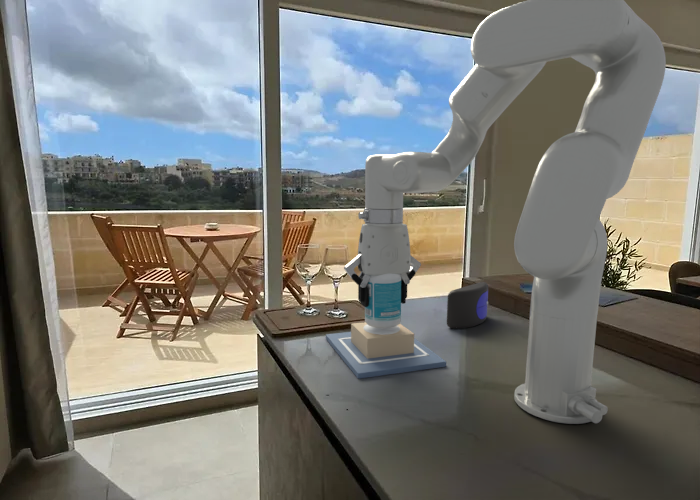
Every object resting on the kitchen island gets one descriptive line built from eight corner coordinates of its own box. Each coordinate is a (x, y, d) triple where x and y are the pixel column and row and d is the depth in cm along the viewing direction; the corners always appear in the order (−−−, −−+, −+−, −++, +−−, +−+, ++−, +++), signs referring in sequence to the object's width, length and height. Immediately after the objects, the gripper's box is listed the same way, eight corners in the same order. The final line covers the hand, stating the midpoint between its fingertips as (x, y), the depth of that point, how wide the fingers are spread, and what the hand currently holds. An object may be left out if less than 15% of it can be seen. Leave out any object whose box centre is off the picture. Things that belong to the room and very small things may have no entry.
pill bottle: (406, 322, 98) (408, 258, 96) (390, 331, 92) (391, 263, 90) (375, 316, 102) (376, 255, 100) (357, 325, 96) (358, 260, 94)
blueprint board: (446, 366, 91) (447, 341, 90) (358, 378, 85) (358, 351, 84) (399, 330, 111) (399, 310, 110) (325, 338, 106) (325, 316, 105)
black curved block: (461, 333, 110) (462, 294, 108) (444, 328, 113) (446, 290, 112) (496, 319, 121) (498, 283, 120) (480, 315, 124) (482, 280, 123)
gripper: (348, 220, 87) (348, 312, 90) (431, 218, 93) (429, 304, 96) (336, 217, 94) (336, 302, 97) (415, 215, 100) (413, 295, 103)
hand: (382, 303), depth 96 cm, fingers closed on pill bottle, 7 cm apart
